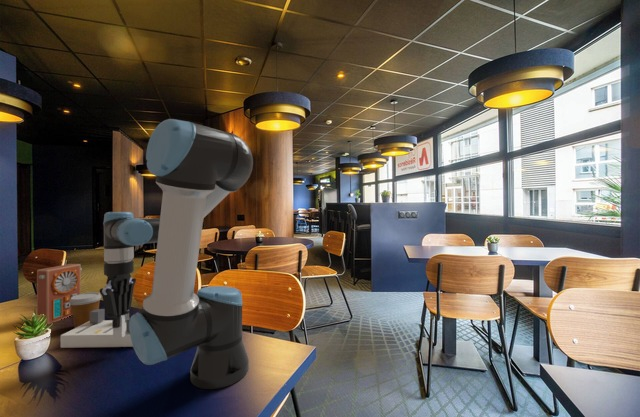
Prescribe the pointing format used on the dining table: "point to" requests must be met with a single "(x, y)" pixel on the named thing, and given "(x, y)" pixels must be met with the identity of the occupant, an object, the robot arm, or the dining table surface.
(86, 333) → the switch bank
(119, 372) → the dining table surface
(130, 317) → the tab
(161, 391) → the dining table surface
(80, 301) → the disposable coffee cup
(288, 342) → the dining table surface
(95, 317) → the tab
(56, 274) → the control panel
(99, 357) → the dining table surface
